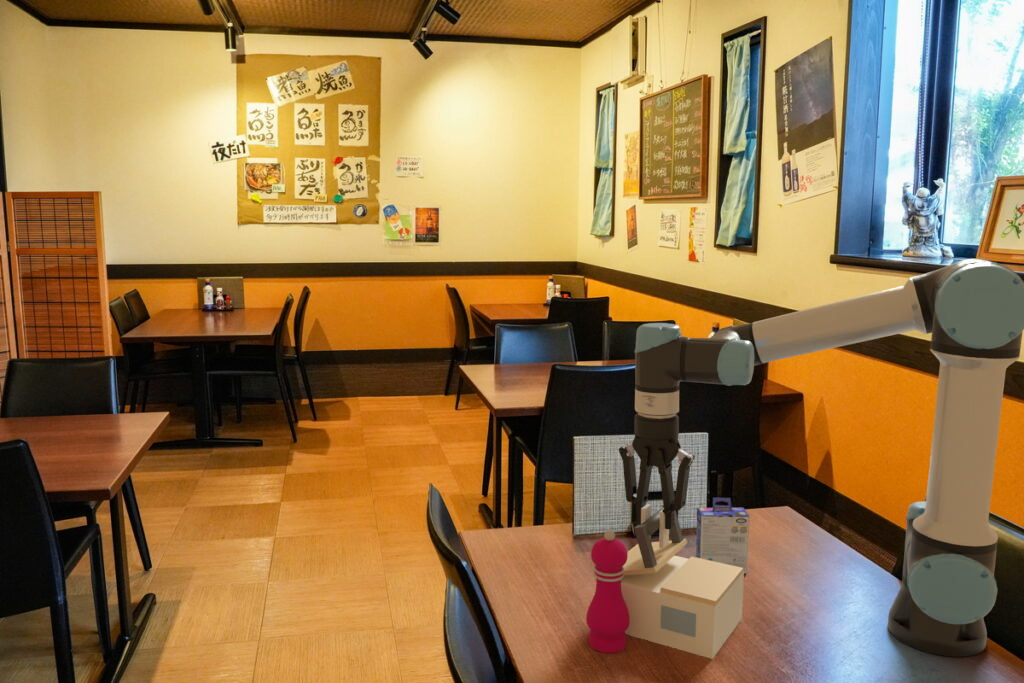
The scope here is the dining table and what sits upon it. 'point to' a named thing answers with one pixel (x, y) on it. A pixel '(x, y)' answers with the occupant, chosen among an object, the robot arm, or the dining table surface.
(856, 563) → the dining table surface
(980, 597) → the robot arm
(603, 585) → the pepper mill
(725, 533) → the ink cartridge box
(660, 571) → the carton
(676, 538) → the flap
